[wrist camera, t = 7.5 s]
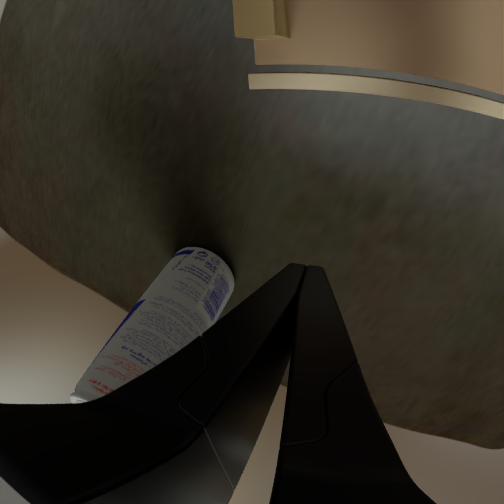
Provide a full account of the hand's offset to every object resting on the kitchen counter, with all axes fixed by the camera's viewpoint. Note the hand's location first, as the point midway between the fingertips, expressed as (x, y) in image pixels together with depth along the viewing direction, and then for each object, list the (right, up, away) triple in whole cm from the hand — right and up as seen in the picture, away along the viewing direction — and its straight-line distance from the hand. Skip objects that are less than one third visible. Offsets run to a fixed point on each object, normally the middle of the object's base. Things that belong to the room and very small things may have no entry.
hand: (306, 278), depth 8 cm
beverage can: (-5, -1, +19) cm, 20 cm away
